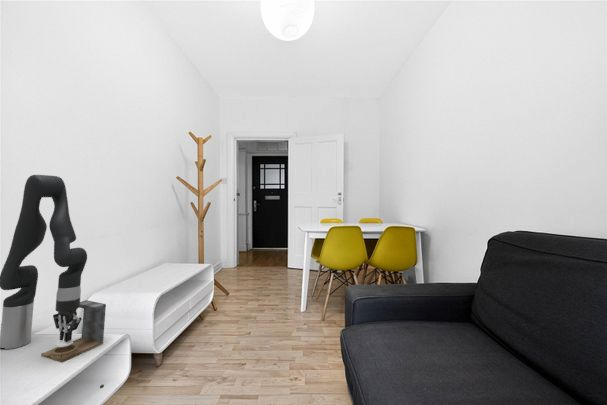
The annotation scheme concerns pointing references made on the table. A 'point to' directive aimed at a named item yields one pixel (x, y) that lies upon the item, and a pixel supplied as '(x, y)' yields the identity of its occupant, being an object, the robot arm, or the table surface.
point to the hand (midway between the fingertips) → (65, 340)
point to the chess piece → (63, 343)
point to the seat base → (83, 333)
